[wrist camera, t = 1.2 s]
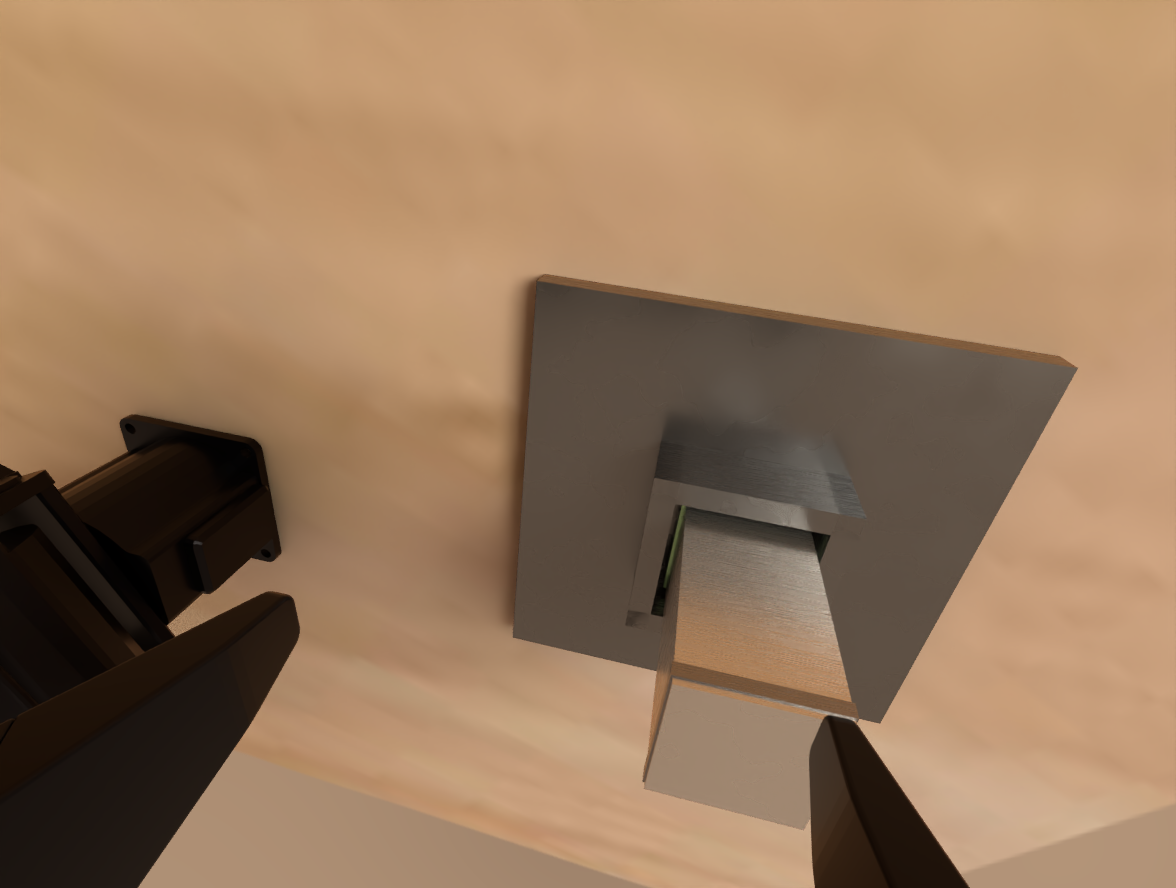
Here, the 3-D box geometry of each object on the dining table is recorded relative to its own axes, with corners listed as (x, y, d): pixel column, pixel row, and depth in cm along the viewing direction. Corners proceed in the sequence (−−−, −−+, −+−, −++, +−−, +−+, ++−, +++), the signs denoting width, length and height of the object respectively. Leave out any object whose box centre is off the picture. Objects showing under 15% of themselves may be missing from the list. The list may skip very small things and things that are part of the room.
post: (665, 564, 23) (639, 789, 15) (686, 473, 21) (668, 680, 13) (774, 587, 22) (806, 833, 14) (807, 497, 20) (864, 726, 12)
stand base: (519, 621, 27) (494, 682, 24) (544, 274, 19) (512, 300, 16) (874, 703, 25) (895, 781, 22) (1060, 356, 18) (1132, 403, 14)
